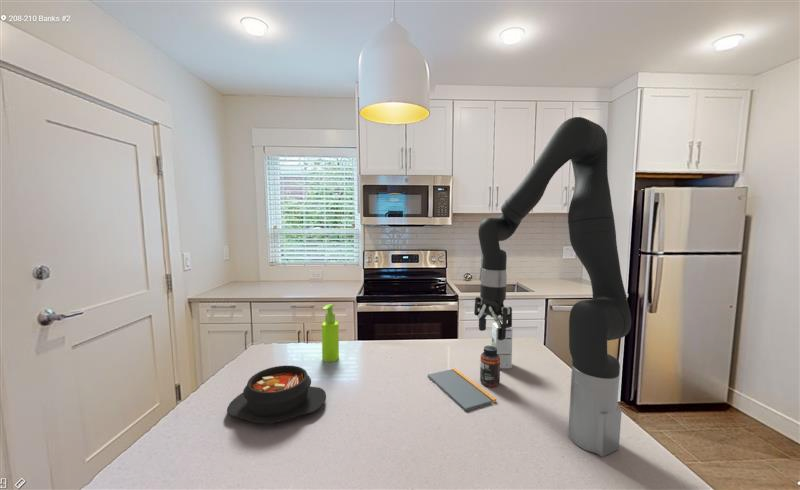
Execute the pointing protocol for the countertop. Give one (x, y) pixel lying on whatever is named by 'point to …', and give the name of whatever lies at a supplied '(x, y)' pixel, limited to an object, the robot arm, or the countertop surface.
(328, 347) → the soap dispenser
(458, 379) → the grey board
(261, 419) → the casserole
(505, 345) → the syrup box
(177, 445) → the countertop surface
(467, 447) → the countertop surface
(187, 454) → the countertop surface
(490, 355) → the supplement bottle
